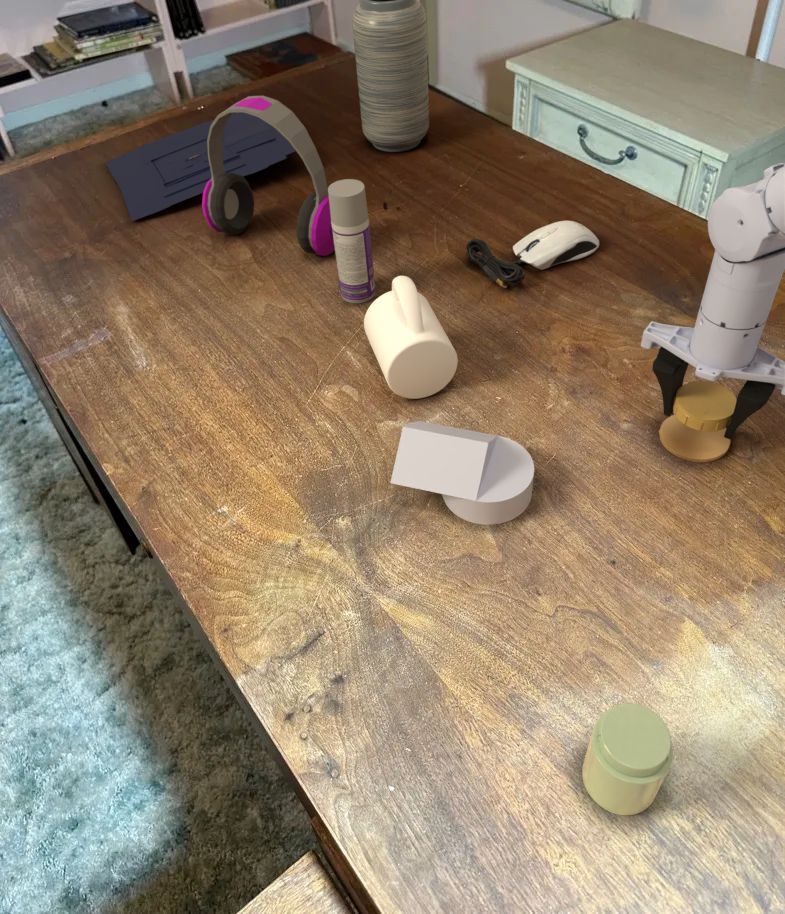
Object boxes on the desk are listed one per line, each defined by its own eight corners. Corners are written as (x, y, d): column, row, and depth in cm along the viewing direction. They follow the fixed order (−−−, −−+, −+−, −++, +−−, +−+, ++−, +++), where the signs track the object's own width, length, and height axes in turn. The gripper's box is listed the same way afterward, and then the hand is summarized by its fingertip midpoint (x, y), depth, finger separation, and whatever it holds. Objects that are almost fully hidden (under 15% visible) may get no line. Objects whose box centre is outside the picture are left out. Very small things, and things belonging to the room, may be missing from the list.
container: (356, 279, 105) (344, 175, 94) (382, 290, 102) (373, 184, 92) (333, 296, 102) (318, 190, 91) (360, 307, 100) (347, 200, 89)
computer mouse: (614, 254, 105) (619, 228, 102) (502, 296, 100) (503, 270, 97) (570, 223, 111) (573, 198, 108) (462, 261, 106) (463, 235, 103)
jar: (655, 748, 58) (675, 703, 53) (658, 821, 54) (680, 782, 49) (583, 736, 59) (595, 691, 54) (581, 808, 55) (593, 768, 50)
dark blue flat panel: (311, 168, 126) (305, 147, 123) (139, 237, 121) (130, 217, 118) (264, 116, 142) (258, 97, 139) (111, 176, 137) (101, 157, 134)
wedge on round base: (392, 505, 76) (521, 533, 73) (387, 459, 72) (525, 486, 68) (419, 443, 82) (539, 466, 79) (416, 396, 77) (545, 419, 74)
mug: (389, 406, 86) (381, 320, 78) (366, 353, 93) (357, 267, 85) (458, 390, 88) (458, 302, 79) (430, 338, 95) (427, 252, 86)
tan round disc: (726, 418, 82) (727, 415, 81) (732, 466, 77) (733, 462, 77) (658, 412, 83) (658, 409, 83) (660, 458, 78) (661, 455, 78)
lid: (686, 385, 80) (689, 373, 79) (742, 406, 78) (746, 393, 76) (663, 417, 77) (666, 405, 76) (720, 439, 74) (724, 427, 73)
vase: (350, 147, 133) (334, -1, 117) (390, 122, 140) (380, -22, 123) (403, 162, 128) (394, 9, 112) (442, 135, 134) (440, -13, 118)
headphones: (354, 239, 112) (338, 99, 98) (323, 270, 107) (302, 127, 92) (238, 214, 119) (208, 80, 105) (204, 241, 114) (168, 105, 100)
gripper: (638, 309, 69) (616, 418, 79) (805, 362, 63) (758, 473, 73) (668, 272, 73) (644, 380, 83) (829, 318, 67) (782, 429, 77)
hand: (699, 421), depth 78 cm, fingers closed on lid, 6 cm apart
